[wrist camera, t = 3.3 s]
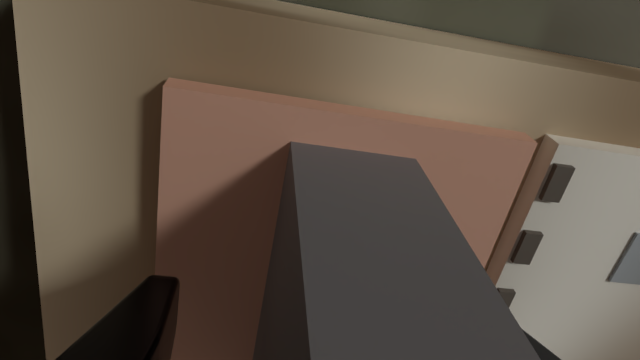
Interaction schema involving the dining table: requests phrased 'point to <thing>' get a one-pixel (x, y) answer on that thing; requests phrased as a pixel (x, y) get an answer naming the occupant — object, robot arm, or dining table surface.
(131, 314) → the robot arm
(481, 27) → the dining table surface
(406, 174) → the stub
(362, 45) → the ticket board
